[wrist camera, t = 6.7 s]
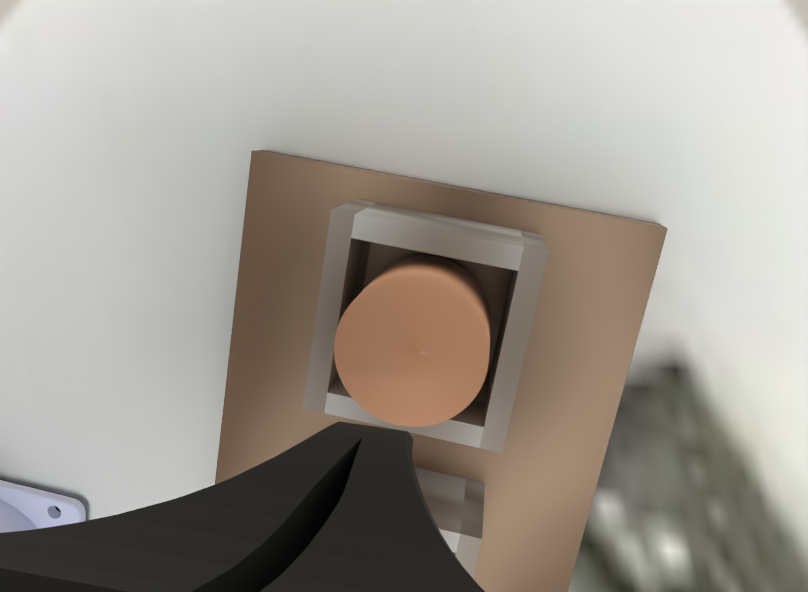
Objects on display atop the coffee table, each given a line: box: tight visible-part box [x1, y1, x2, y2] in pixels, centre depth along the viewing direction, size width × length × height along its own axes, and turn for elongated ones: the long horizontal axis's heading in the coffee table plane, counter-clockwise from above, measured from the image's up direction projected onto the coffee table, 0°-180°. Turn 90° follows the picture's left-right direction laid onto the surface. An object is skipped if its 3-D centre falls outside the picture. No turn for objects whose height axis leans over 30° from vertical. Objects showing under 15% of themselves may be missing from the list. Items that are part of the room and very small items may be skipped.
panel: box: [215, 150, 667, 592], centre depth 20 cm, size 12×15×4 cm
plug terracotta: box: [334, 255, 491, 427], centre depth 17 cm, size 4×4×3 cm
